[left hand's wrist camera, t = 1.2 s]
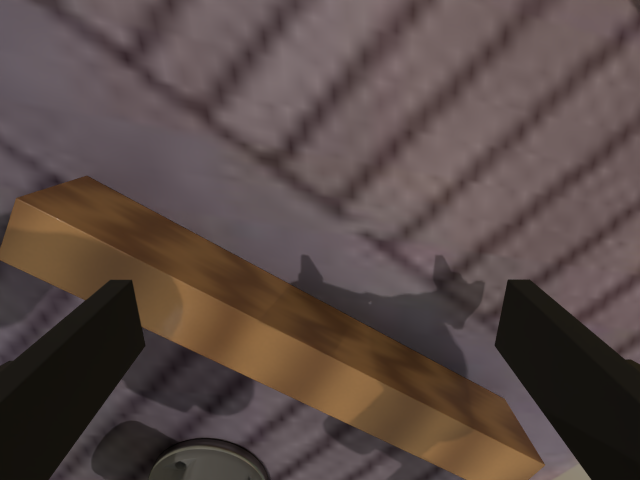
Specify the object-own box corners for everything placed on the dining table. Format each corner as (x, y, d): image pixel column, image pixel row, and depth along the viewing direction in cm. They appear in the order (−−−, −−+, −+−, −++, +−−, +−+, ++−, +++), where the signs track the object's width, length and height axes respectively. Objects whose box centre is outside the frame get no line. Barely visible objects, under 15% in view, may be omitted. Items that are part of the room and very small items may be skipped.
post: (504, 399, 43) (545, 465, 35) (474, 429, 45) (506, 498, 37) (86, 175, 34) (16, 197, 26) (68, 224, 36) (-4, 258, 28)
